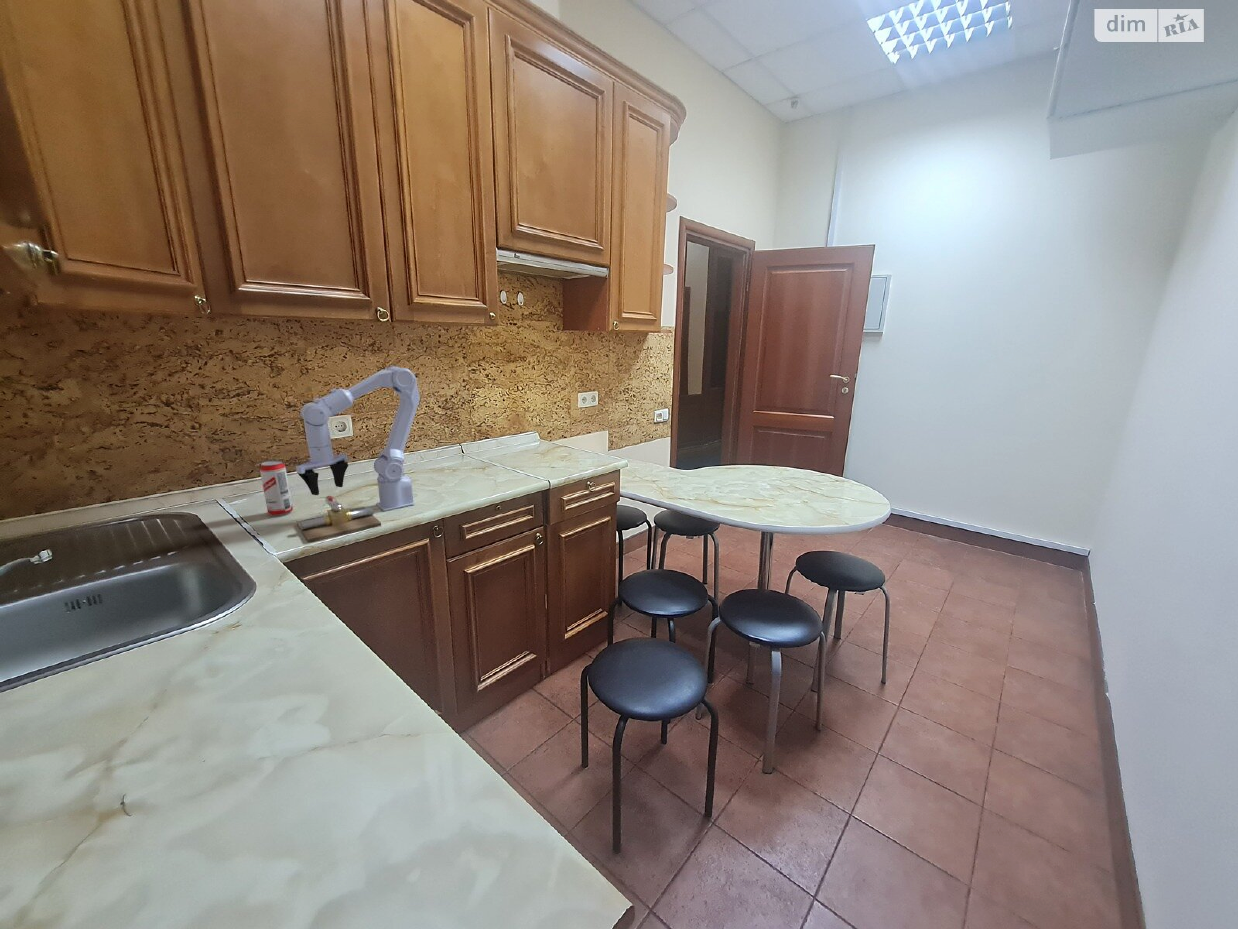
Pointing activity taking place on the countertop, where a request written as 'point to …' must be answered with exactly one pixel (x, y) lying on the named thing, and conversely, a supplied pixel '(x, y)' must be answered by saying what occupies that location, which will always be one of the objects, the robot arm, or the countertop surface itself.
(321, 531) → the walnut board
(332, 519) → the valve body
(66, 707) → the countertop surface
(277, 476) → the beer can
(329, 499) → the valve lever
